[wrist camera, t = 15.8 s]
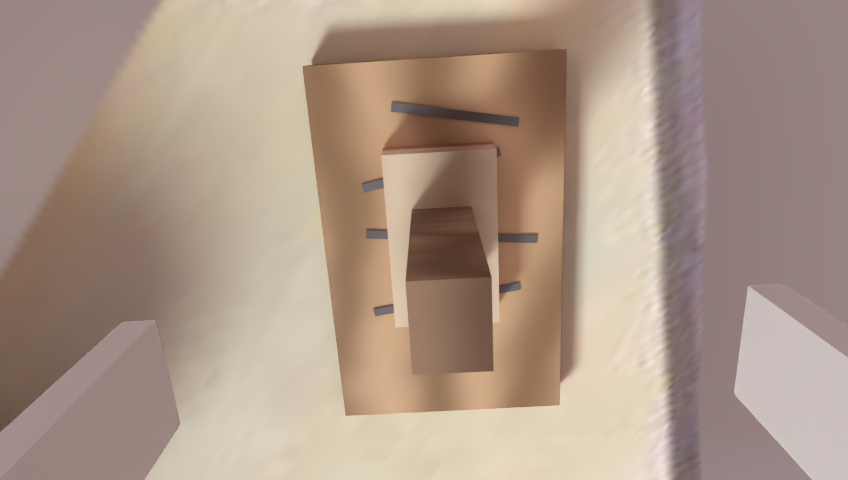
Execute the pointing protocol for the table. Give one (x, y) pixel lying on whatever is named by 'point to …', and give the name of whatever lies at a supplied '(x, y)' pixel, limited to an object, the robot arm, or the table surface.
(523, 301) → the board
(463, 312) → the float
